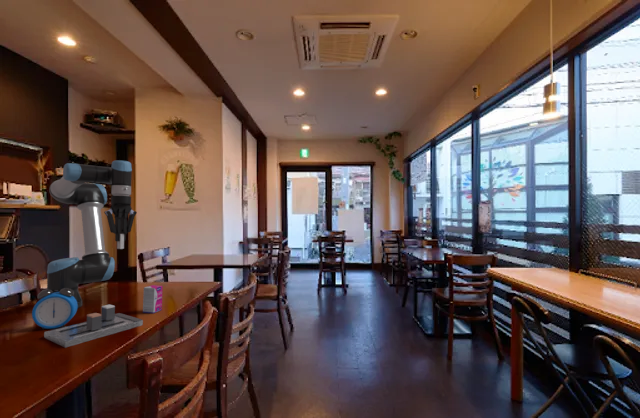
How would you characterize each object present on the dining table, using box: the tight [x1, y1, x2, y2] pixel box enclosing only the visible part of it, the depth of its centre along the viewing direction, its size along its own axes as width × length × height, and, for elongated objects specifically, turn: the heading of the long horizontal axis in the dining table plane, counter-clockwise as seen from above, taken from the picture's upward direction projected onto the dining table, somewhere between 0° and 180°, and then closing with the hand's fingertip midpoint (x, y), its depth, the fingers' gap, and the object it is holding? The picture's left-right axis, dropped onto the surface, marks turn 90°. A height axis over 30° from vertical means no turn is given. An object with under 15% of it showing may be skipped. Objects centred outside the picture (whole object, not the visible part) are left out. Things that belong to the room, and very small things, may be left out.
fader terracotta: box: [86, 312, 102, 331], centre depth 118 cm, size 4×3×5 cm
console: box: [43, 312, 144, 349], centre depth 122 cm, size 17×26×2 cm, turn 149°
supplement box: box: [142, 284, 163, 315], centre depth 147 cm, size 6×6×12 cm
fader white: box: [101, 304, 116, 321], centre depth 129 cm, size 4×3×5 cm
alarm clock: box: [31, 288, 79, 331], centre depth 127 cm, size 13×6×15 cm, turn 115°
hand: (120, 248), depth 142 cm, fingers closed
